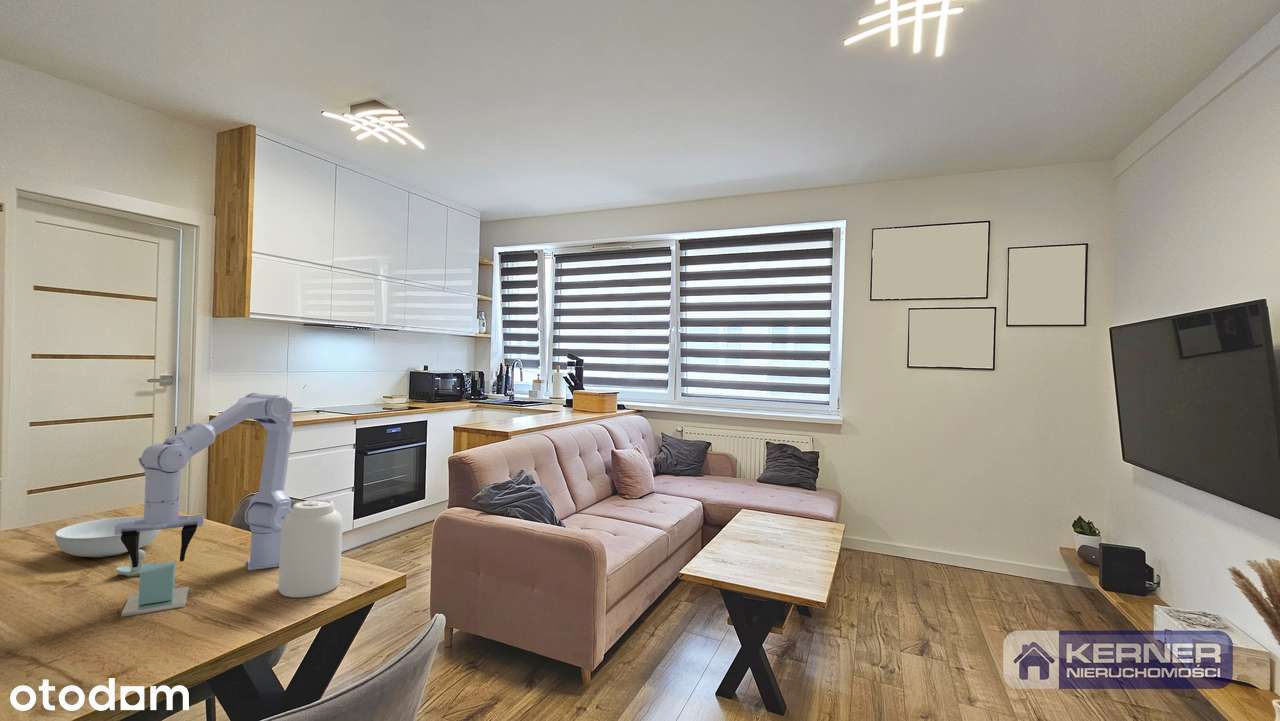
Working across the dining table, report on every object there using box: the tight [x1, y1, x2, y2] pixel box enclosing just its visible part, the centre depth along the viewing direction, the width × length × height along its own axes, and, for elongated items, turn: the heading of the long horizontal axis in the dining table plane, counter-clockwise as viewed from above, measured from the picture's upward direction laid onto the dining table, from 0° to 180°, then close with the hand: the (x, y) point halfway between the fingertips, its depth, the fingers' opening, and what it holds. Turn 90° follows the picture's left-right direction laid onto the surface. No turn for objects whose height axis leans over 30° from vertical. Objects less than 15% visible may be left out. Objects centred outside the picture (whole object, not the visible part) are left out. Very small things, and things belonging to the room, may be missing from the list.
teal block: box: [138, 560, 177, 605], centre depth 121 cm, size 5×5×7 cm
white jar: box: [277, 499, 344, 598], centre depth 132 cm, size 12×12×20 cm
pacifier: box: [115, 548, 158, 577], centre depth 136 cm, size 7×6×6 cm
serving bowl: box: [54, 516, 162, 558], centre depth 150 cm, size 21×21×7 cm
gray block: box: [120, 586, 190, 618], centre depth 121 cm, size 10×10×7 cm
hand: (159, 562), depth 121 cm, fingers open, 7 cm apart
